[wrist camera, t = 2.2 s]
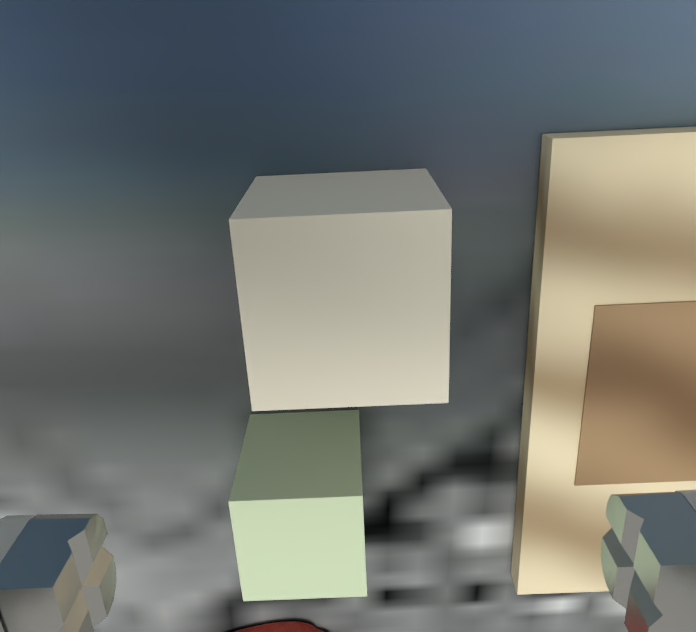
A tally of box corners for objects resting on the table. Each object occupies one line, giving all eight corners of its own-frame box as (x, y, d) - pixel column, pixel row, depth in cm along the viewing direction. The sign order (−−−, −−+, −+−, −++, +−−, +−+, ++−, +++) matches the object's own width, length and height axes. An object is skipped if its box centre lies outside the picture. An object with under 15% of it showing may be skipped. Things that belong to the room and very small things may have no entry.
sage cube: (250, 413, 27) (228, 501, 22) (358, 409, 27) (362, 496, 22) (261, 501, 28) (243, 601, 23) (362, 496, 28) (367, 596, 23)
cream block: (256, 176, 23) (228, 219, 17) (425, 167, 23) (452, 209, 17) (272, 329, 25) (252, 411, 20) (425, 322, 25) (448, 402, 20)
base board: (542, 133, 22) (553, 139, 21) (893, 117, 22) (924, 121, 21) (510, 574, 30) (517, 596, 29) (769, 563, 30) (787, 585, 29)
